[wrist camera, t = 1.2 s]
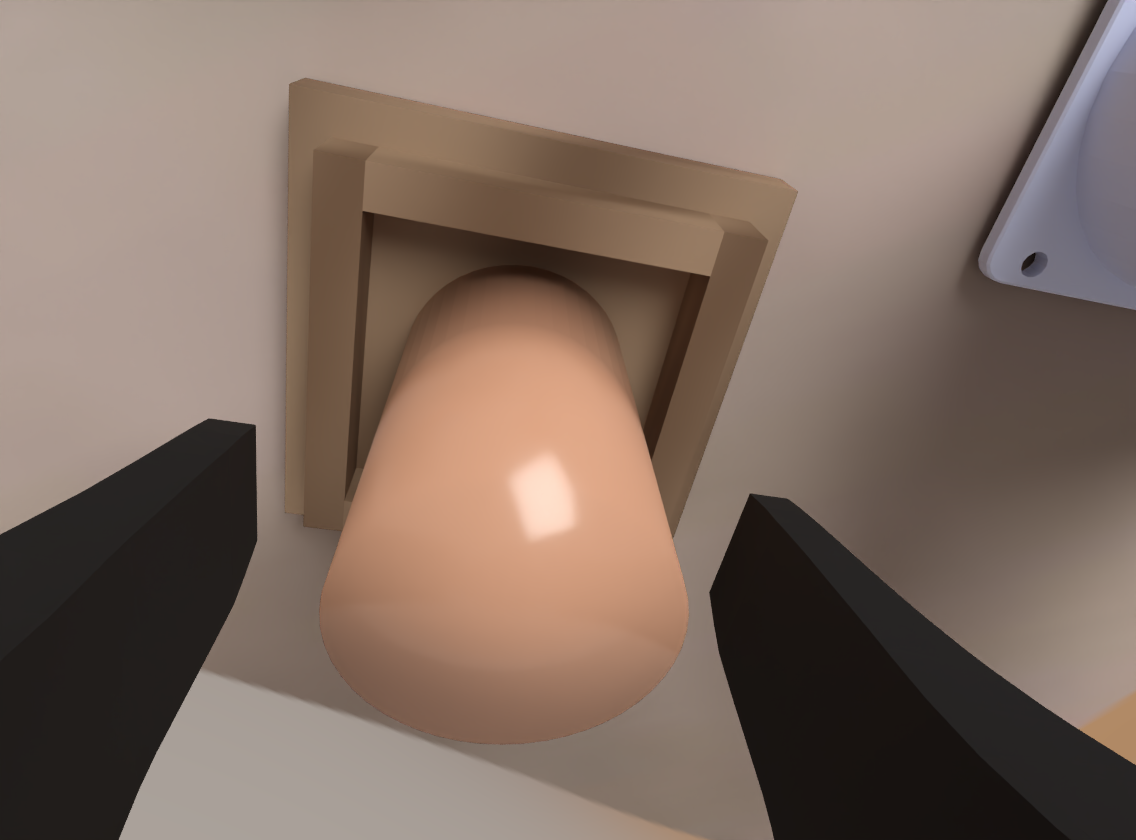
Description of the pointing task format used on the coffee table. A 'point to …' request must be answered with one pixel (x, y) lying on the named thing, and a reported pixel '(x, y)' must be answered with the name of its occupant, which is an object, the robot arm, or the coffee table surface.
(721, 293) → the holder
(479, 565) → the peg
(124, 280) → the coffee table surface
